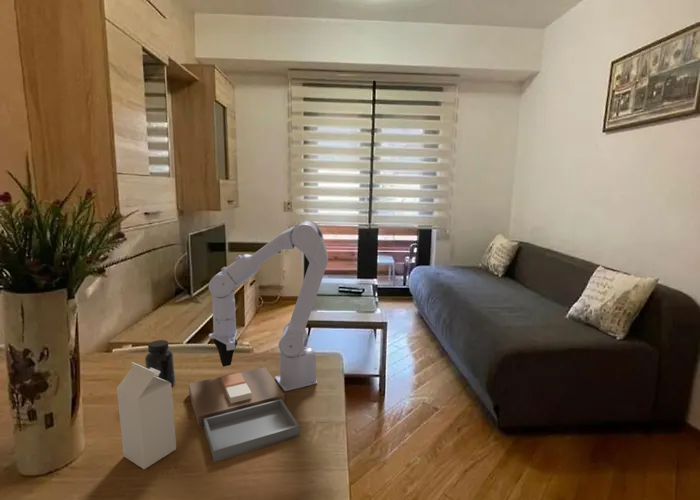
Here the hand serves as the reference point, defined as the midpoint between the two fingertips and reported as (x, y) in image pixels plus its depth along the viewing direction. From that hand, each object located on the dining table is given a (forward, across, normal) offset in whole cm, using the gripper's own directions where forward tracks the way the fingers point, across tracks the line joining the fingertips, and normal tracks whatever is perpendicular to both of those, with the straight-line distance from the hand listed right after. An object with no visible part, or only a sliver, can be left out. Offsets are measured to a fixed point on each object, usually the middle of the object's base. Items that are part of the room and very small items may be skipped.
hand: (226, 364), depth 112 cm
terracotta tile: (+2, +8, 0) cm, 8 cm away
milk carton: (+5, +22, -20) cm, 30 cm away
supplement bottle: (+5, -6, -16) cm, 18 cm away
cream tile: (+2, +14, 0) cm, 14 cm away
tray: (+5, +25, 0) cm, 25 cm away
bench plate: (+5, +10, 0) cm, 11 cm away
